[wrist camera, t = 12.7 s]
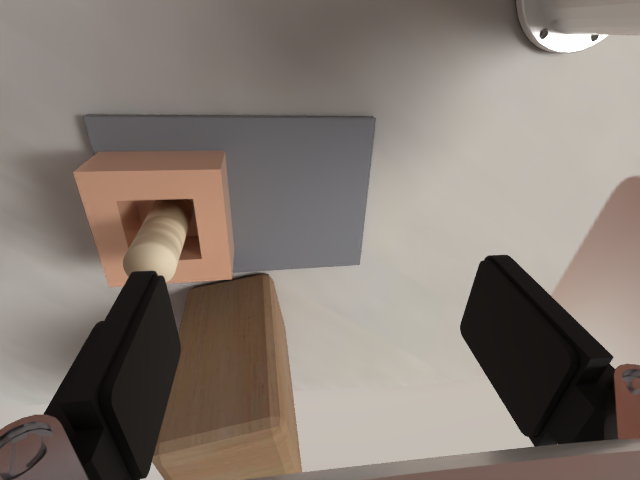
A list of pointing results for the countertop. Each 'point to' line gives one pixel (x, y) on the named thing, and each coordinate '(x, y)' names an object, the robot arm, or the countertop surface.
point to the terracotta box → (138, 198)
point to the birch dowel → (160, 239)
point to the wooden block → (230, 388)
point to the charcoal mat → (270, 179)
